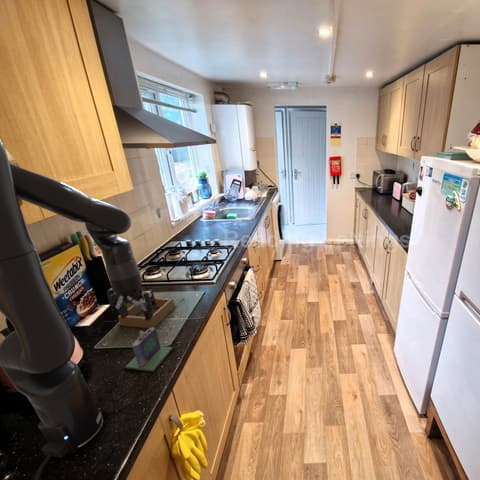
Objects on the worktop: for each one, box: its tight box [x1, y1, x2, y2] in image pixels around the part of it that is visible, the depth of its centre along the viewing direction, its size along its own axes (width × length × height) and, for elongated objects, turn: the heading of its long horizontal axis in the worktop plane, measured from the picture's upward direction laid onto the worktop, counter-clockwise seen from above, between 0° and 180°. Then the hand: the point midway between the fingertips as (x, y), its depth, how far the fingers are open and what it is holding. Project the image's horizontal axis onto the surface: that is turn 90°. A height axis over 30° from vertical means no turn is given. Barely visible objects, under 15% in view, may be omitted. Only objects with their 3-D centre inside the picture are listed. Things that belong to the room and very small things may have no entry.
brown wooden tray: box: [117, 296, 176, 329], centre depth 112 cm, size 14×14×4 cm
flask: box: [131, 327, 161, 367], centre depth 89 cm, size 9×3×11 cm, turn 172°
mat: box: [125, 345, 174, 372], centre depth 91 cm, size 10×10×1 cm
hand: (137, 317), depth 85 cm, fingers open, 8 cm apart
